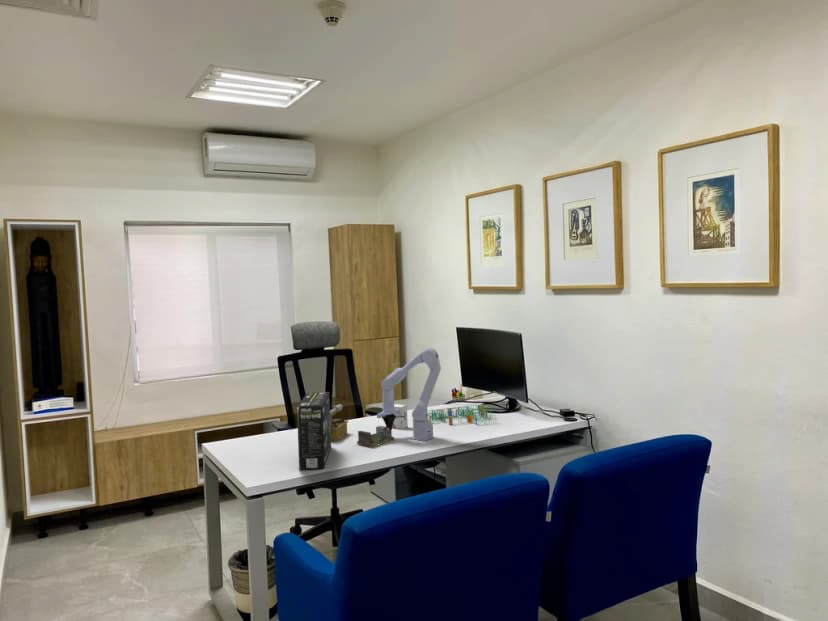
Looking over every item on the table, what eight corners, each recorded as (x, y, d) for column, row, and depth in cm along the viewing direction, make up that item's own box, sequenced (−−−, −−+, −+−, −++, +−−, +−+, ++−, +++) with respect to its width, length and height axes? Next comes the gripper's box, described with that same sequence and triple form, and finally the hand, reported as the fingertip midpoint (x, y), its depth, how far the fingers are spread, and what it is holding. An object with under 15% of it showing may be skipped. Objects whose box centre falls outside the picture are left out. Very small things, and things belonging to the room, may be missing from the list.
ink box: (389, 428, 322) (388, 405, 322) (394, 425, 327) (393, 403, 326) (403, 429, 318) (402, 406, 318) (408, 427, 323) (407, 404, 322)
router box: (325, 469, 254) (322, 405, 252) (298, 471, 253) (295, 406, 252) (332, 446, 289) (329, 390, 288) (308, 448, 289) (306, 391, 287)
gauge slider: (380, 433, 300) (380, 425, 300) (391, 435, 296) (390, 427, 295) (376, 435, 298) (376, 426, 298) (386, 437, 293) (386, 428, 293)
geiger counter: (349, 432, 316) (348, 403, 315) (332, 446, 290) (330, 414, 290) (333, 432, 317) (331, 403, 317) (314, 445, 292) (312, 414, 292)
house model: (478, 412, 354) (477, 404, 353) (502, 423, 326) (502, 414, 326) (421, 419, 342) (421, 411, 341) (442, 430, 314) (441, 421, 314)
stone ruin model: (380, 437, 303) (380, 424, 303) (394, 439, 297) (393, 426, 297) (357, 444, 291) (356, 430, 291) (370, 447, 285) (369, 433, 285)
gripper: (392, 399, 309) (393, 426, 310) (372, 404, 298) (373, 431, 299) (403, 400, 304) (404, 427, 305) (382, 405, 293) (383, 433, 294)
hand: (389, 430), depth 302 cm, fingers closed
